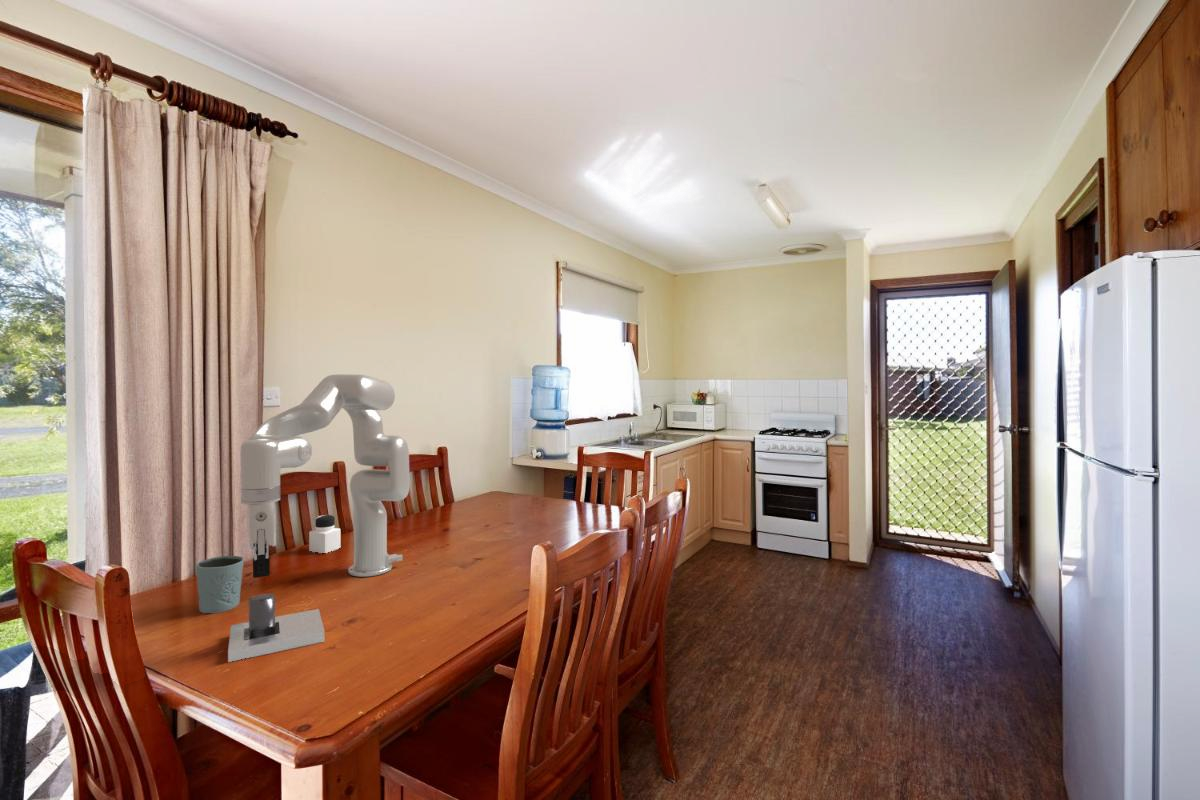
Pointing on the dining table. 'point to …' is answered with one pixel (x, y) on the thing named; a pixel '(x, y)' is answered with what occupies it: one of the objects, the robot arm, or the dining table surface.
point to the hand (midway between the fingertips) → (261, 575)
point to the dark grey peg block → (261, 616)
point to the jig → (277, 635)
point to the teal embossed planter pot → (219, 583)
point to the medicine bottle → (325, 535)
